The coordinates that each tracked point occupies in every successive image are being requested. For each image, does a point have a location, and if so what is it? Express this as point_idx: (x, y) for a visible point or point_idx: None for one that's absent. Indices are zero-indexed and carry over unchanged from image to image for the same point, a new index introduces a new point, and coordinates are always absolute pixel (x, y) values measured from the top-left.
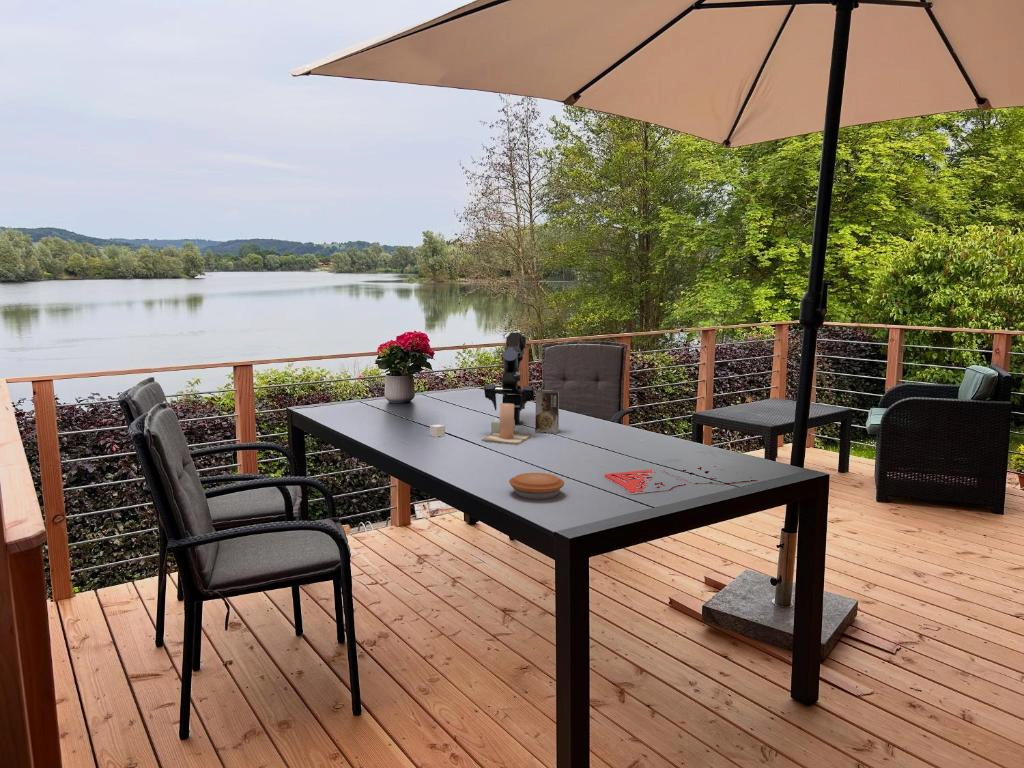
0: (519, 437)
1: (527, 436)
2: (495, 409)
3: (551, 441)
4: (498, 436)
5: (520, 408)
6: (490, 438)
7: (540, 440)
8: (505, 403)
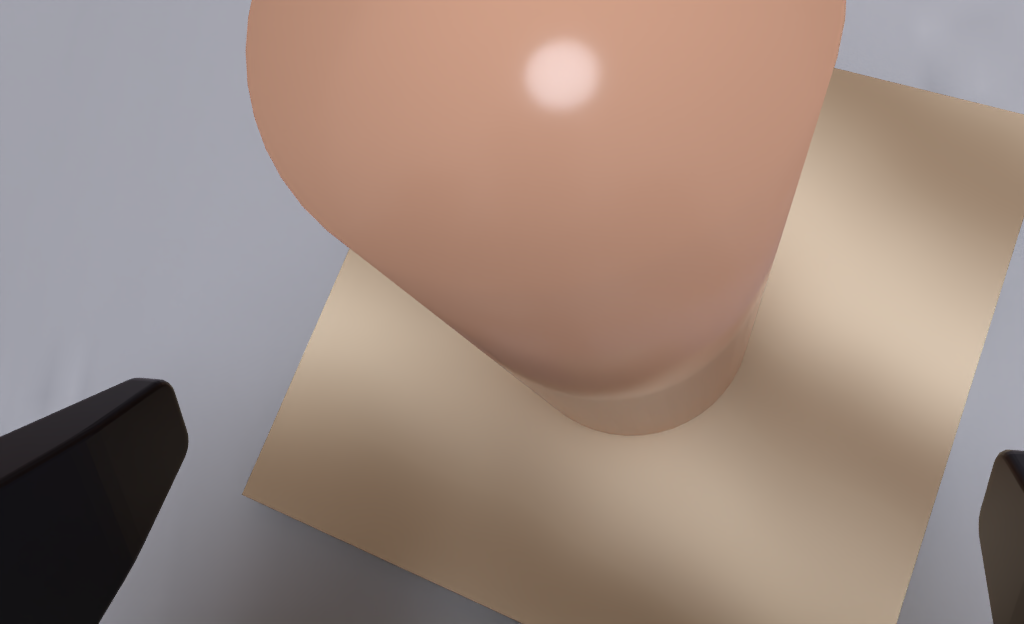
0: (421, 331)
1: (294, 416)
2: (1017, 464)
3: (23, 269)
4: (772, 378)
5: (113, 387)
6: (904, 203)
7: (147, 316)
8: (601, 162)
